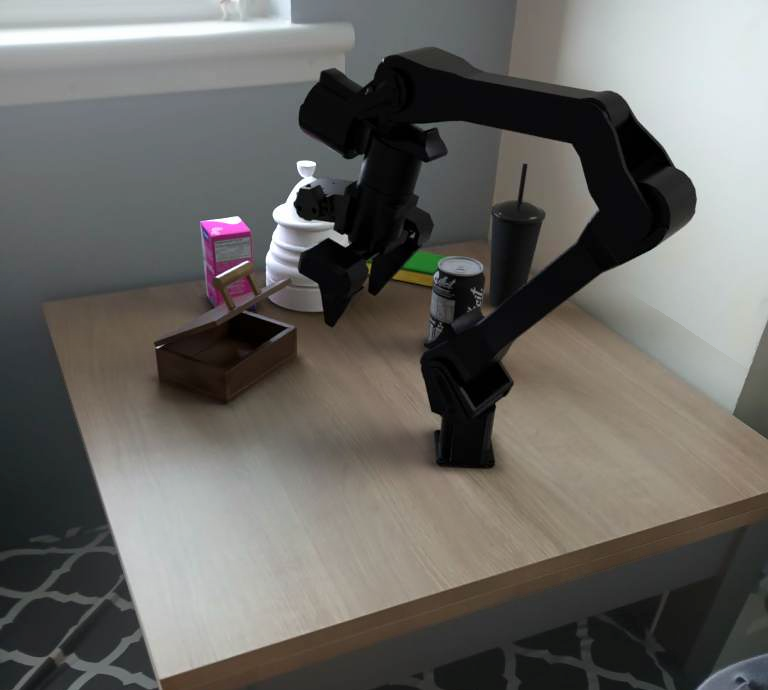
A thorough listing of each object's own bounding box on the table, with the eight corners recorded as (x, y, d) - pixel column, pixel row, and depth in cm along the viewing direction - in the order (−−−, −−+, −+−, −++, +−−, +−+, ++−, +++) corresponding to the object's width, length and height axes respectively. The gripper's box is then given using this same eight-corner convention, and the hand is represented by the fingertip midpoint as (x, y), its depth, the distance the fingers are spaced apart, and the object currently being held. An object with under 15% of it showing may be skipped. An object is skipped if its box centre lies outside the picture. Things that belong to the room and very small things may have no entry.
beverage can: (476, 341, 121) (486, 257, 113) (475, 364, 116) (486, 277, 108) (428, 336, 121) (436, 252, 114) (425, 359, 116) (433, 273, 108)
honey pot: (257, 279, 133) (252, 156, 122) (337, 271, 137) (340, 151, 126) (279, 316, 124) (277, 186, 113) (365, 306, 128) (371, 180, 116)
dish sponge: (445, 290, 133) (447, 275, 132) (360, 273, 137) (361, 258, 135) (458, 273, 139) (460, 258, 137) (376, 257, 142) (377, 242, 141)
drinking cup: (474, 308, 129) (491, 168, 117) (485, 288, 135) (502, 152, 122) (526, 317, 127) (549, 176, 115) (534, 296, 133) (557, 160, 121)
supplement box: (205, 298, 127) (198, 219, 120) (244, 292, 129) (240, 215, 122) (216, 315, 123) (211, 235, 116) (257, 309, 125) (254, 230, 118)
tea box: (297, 357, 115) (296, 326, 112) (227, 405, 105) (225, 373, 102) (232, 334, 119) (230, 305, 116) (158, 379, 108) (154, 347, 106)
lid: (292, 282, 109) (276, 246, 107) (217, 326, 98) (198, 286, 97) (231, 304, 116) (215, 271, 114) (155, 347, 106) (136, 311, 104)
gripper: (368, 123, 96) (337, 247, 107) (267, 170, 83) (244, 306, 94) (454, 169, 94) (413, 291, 105) (364, 225, 81) (328, 357, 92)
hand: (351, 309), depth 99 cm, fingers open, 9 cm apart
